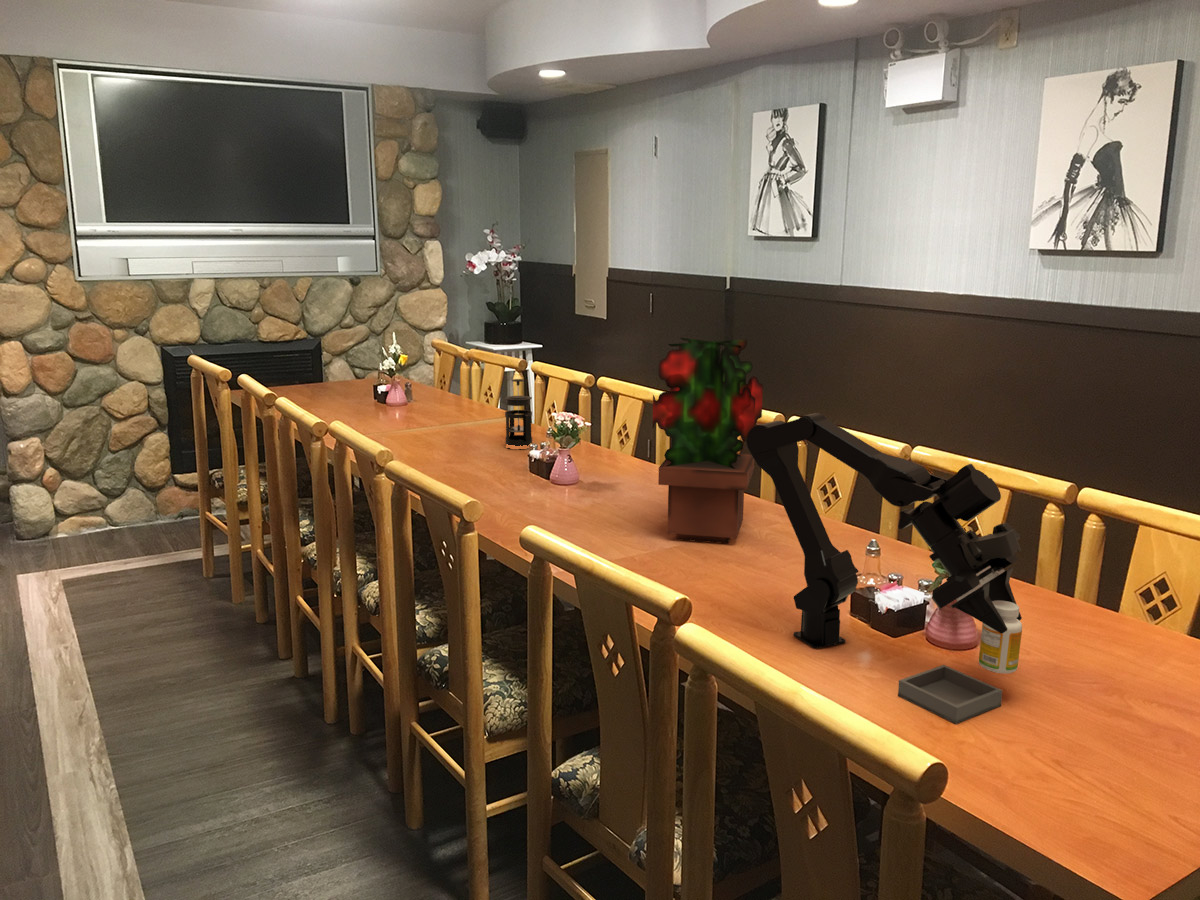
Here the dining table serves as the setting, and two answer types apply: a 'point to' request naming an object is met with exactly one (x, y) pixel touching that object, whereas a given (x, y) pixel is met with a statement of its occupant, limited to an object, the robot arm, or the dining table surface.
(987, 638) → the supplement bottle
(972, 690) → the charcoal tray
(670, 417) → the potted plant
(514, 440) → the french press
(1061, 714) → the dining table surface
